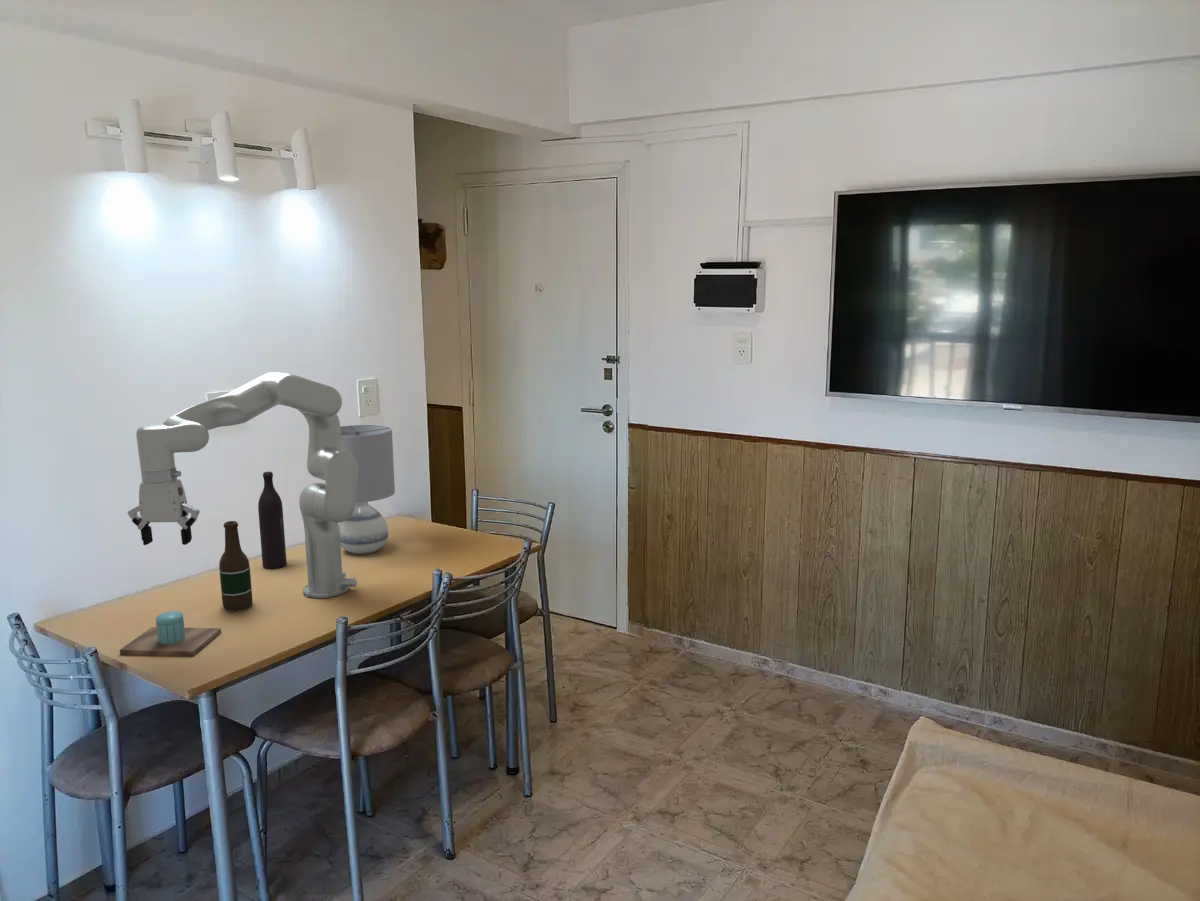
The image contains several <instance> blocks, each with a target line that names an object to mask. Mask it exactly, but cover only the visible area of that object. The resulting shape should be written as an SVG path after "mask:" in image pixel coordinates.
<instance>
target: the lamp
mask: <svg viewBox="0 0 1200 901" xmlns="http://www.w3.org/2000/svg"><path fill="white" fill-rule="evenodd" d="M340 427H341V439H340V448H341V449H343V450H346V451H348V452H350V453H351V454H352V455H353V456H354V457H355V459H356V461H357V465H358V479H357V492H356V502H355V508H354V511H353V513H352V515H351V516H350V518H348V519H347V520H346V521H344V522H340V523H338V524H339V529H340V545H341V549H343V550H345V551H347V552H348V553H350V554H353V555H356V554H357V555H365V554H366V555H368V554H371V553H376V552H377V551H379V550H381V549H382V548H383V547H384V546H385V544H386V543H388V539H389V534H390V533H389V527H388V524H387V521H386V518H385V517H384V516H383V514H381V512H379V510H377V509H376V508H375V507H373V506H371V505H370V504H369V502H375V501H381V500H384V499H387V498H390V497H392V496H394V495H395V492H396V490H395V489H396V488H395V486H396V485H395V467H394V466H395V465H394V445H393V429H392V427H391V426H387V425H384V424H383V425H382V424H348V425H340ZM324 482H325V483H324V484H326V480H324Z"/></svg>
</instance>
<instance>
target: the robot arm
mask: <svg viewBox="0 0 1200 901" xmlns="http://www.w3.org/2000/svg"><path fill="white" fill-rule="evenodd" d="M279 405H280V406H286V407H290V408H292V409H295V410H297V411H298V412H299V413H300V414H302V415H303V417H304V418H305V421H306V422H307V426H308V447H307V460H306V468H307V472H308V473H309V474H310V475H311V476H312V477H314V478H315V479H316V478H317V479H320V480H322V481H325V480H326V483H321V482H315V483H310V484H308V485H307V486H305V487H304V488H303V489H302V490H301V492H300V495H299V501H298V503H299V510H300V513H301V517H302V522H303V528H304V539H305V540H304V541H305V557H306V570H307V584H306V585H305V586H304V587H303V589H302V592H303V594H304V596H306V597H308V598H315V599H324V598H325V599H326V598H332V597H336V596H340V595H343V594H345V593H346V592H347V591H348V590H349V588H351V587H353V588H354V587H357V584H358V583H357V582H358V581H357V579H356V578H355V577H347V575H346V574H347V573H346V572H343V566H342V561H343V560H342V547H341V545H340V529H339V523H340V522H344V521H346V520H347V519H348V518H350V516H351V515H352V513H353V511H354V508H355V502H356V492H357V479H358V465H357V461H356V459H355V457H354V456H353V455H352V454H351V453H350V452H348V451H346V450H343V449H341V448H340V439H341V427H340V426H341V422H340V418H339V416H338V414H339V412H340V410H341V409H342V405H343V398H342V396H341V393H340V392H339V391H338V390H337V389H336V388H334V387H333V386H330V385H328V384H324V383H321V382H317V381H315V380H314V381H313V380H311V379H308V378H305V377H302V376H299V375H296V374H292V373H288V372H287V373H286V372H279V371H271V372H266V373H265V374H262V375H261V376H258V377H257V378H255V379H253V380H251V381H249V382H246V383H245V384H244V385H241V386H240V387H238V388H235V389H234V390H232V391H230V392H228V393H226V394H223V395H219V396H217V397H214V398H212V399H208V400H206V401H203V402H199V403H196V404H194V405H192V406H190V407H187V408H185V409H183V410H182V411H180V412H178V413H175V414H174V415H172V416H170V417H169V418H167V419H165V421H164V422H163V423H162V424H150V425H149V424H148V425H144V426H141V427H138V428H137V429H136V433H135V435H136V444H137V450H138V451H137V452H138V459H139V466H140V473H141V482H140V483H139V490H138V505H137V506H136V507H134V508H132V509H130V510H128V511H127V515H128V517H129V518H130V519H131V522H132V523H133V524H134V525H136V526H137V529H138V530H140V536H141V537H140V538H141V541H142V544H143V545H144V546H147V545H148V544H151V543H152V542H153V541H154V540H153V532H152V527H151V525H150V524H151V523H177V524H178V525H179V526H180V527H181V528H182V529H180V536H181V537H180V538H181V544H182V545H183V546H186V545H188V544H189V543H191V541H192V539H193V534H192V526H193V525H194V524H195V522H196V521H197V520H198V517H199V514H200V509H198V508H196V507H193V506H192V505H189V504H188V501H187V500H188V499H187V495H186V492H185V488H184V486H183V484H182V483H183V482H182V480H181V479H180V478H178V477H182V472H181V471H179V470H177V467H176V462H175V454H176V453H194V452H197V451H201V450H203V449H204V447H206V446H207V444H208V443H209V441H210V433H209V431H211V430H213V429H217V428H221V427H230V426H236V425H241V424H245V423H248V422H250V421H251V420H252V419H254V418H256V417H258V416H259V415H261V414H263V413H265V412H266V411H269V410H271V409H273V408H274V407H276V406H279ZM138 512H139V515H138ZM189 514H190V517H188V516H189Z"/></svg>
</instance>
